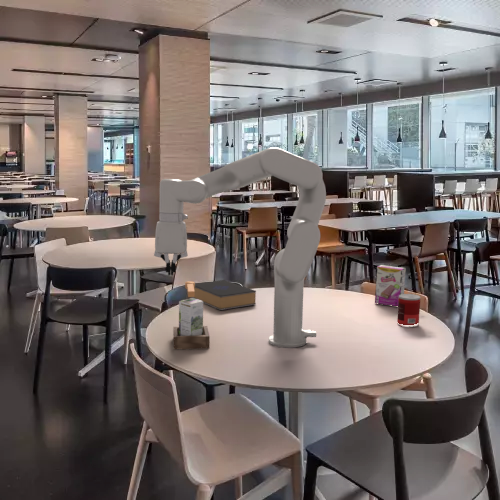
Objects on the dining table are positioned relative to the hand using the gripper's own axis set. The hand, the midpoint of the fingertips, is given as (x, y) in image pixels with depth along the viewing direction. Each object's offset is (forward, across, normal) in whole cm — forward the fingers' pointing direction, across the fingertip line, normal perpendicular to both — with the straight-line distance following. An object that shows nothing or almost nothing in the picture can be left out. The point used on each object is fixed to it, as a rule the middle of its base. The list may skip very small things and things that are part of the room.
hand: (170, 274), depth 186 cm
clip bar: (+6, -7, -2) cm, 9 cm away
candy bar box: (+22, -92, -42) cm, 103 cm away
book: (+23, -22, -53) cm, 62 cm away
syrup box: (+23, -7, +1) cm, 24 cm away
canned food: (+22, -88, -13) cm, 91 cm away
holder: (+23, -7, -2) cm, 24 cm away
